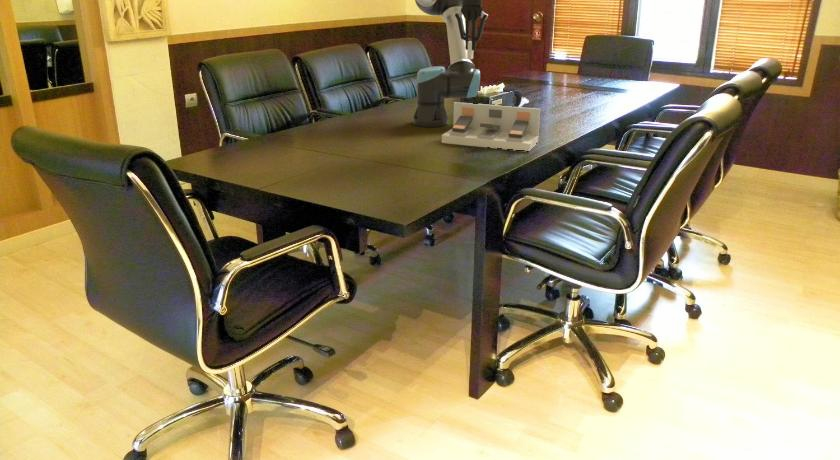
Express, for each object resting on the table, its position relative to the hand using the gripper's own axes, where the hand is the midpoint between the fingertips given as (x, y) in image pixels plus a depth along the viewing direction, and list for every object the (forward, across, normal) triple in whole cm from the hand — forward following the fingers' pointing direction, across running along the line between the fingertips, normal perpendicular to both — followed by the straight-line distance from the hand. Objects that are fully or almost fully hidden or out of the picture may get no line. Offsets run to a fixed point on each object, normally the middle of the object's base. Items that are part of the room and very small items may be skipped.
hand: (470, 58), depth 250 cm
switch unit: (+29, +13, -14) cm, 35 cm away
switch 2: (+22, +13, -14) cm, 30 cm away
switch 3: (+22, +24, -14) cm, 36 cm away
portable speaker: (+30, -2, +45) cm, 54 cm away
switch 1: (+22, +2, -14) cm, 26 cm away
